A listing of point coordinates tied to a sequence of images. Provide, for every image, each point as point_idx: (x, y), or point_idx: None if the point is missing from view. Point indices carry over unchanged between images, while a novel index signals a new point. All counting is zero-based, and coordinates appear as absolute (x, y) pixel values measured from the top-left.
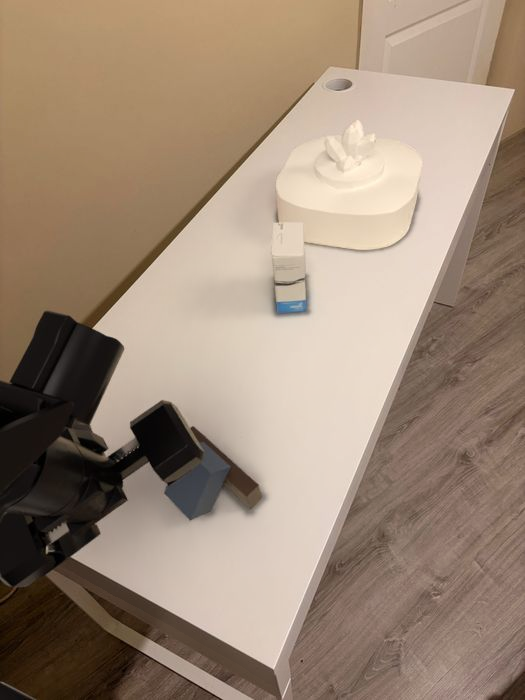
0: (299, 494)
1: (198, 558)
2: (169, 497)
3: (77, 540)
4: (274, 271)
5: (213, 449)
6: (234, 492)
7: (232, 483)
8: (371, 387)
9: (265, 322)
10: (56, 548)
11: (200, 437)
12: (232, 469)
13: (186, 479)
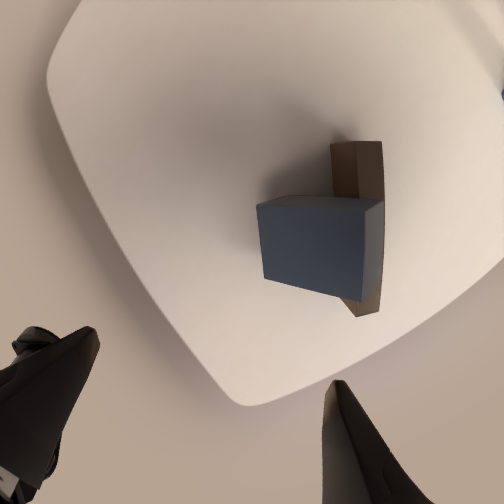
0: (385, 310)
1: (238, 305)
2: (259, 221)
3: (49, 434)
4: None
5: None
6: None
7: None
8: (495, 252)
9: (491, 89)
10: (15, 478)
11: (377, 174)
12: None
13: (313, 247)
